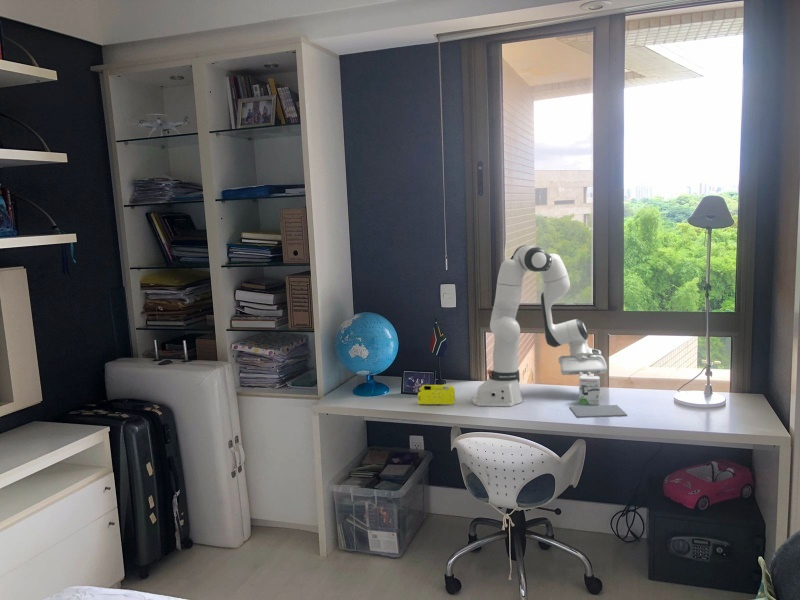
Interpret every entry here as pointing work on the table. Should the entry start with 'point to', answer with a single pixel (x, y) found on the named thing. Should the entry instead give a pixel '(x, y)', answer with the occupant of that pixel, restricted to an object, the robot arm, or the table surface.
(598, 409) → the mat
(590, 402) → the ink box
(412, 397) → the table surface
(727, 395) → the table surface
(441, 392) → the yellow camera
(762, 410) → the table surface
